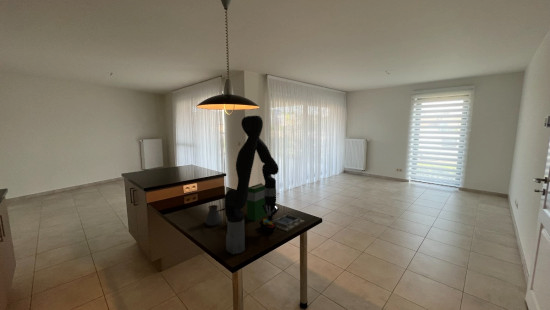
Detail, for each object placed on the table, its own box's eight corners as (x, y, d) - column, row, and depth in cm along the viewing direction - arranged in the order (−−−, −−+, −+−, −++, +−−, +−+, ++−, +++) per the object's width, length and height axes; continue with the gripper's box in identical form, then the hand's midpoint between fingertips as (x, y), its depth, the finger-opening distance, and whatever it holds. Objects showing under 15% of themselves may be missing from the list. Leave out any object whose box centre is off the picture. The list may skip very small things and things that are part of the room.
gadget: (269, 234, 135) (269, 226, 135) (259, 227, 146) (258, 219, 146) (278, 232, 139) (277, 223, 138) (267, 224, 150) (267, 217, 149)
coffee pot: (201, 225, 150) (200, 204, 149) (214, 219, 160) (214, 200, 159) (222, 233, 138) (222, 210, 137) (235, 226, 148) (235, 205, 146)
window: (287, 231, 140) (287, 226, 140) (268, 224, 151) (268, 220, 151) (304, 222, 155) (304, 218, 155) (286, 216, 166) (286, 212, 166)
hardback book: (261, 212, 175) (261, 183, 173) (269, 214, 171) (268, 184, 169) (247, 219, 160) (246, 187, 158) (255, 221, 156) (254, 189, 154)
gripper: (258, 193, 140) (258, 219, 141) (274, 197, 131) (274, 225, 133) (266, 191, 145) (266, 216, 147) (282, 195, 137) (281, 221, 138)
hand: (270, 220), depth 140 cm, fingers closed
